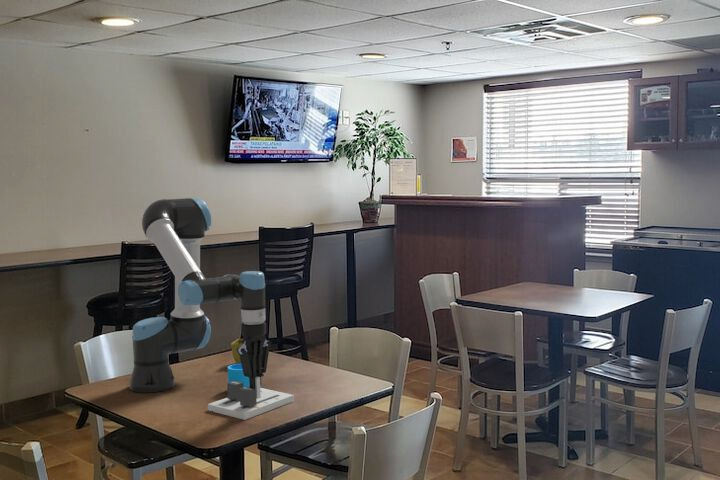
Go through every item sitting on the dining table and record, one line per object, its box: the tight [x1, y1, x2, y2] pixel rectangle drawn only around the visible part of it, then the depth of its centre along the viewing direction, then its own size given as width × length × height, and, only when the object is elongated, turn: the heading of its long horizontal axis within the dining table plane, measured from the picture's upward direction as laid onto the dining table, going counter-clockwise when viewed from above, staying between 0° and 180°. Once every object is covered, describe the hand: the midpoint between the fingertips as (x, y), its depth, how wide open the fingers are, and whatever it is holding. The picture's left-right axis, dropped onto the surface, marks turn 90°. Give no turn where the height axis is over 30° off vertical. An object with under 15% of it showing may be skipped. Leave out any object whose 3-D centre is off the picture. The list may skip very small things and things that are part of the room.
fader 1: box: [226, 381, 243, 401], centre depth 234 cm, size 4×3×5 cm
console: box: [207, 387, 295, 421], centre depth 234 cm, size 16×22×2 cm
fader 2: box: [240, 387, 257, 407], centre depth 227 cm, size 4×3×5 cm
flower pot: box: [230, 338, 243, 364], centre depth 286 cm, size 9×9×9 cm
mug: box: [227, 363, 250, 388], centre depth 252 cm, size 12×8×8 cm
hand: (255, 397), depth 230 cm, fingers closed
